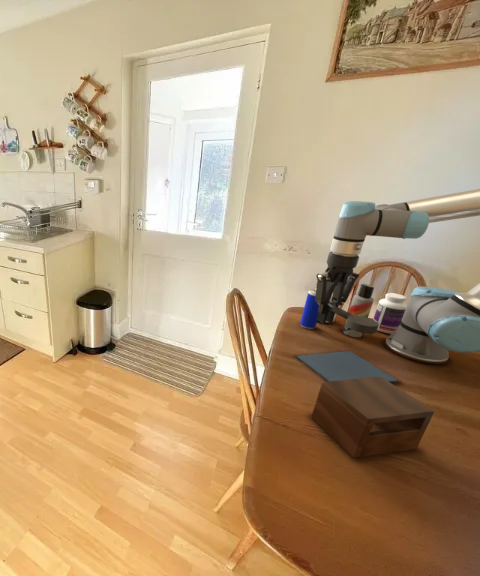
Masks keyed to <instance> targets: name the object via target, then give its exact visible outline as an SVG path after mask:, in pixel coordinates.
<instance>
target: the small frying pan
mask: <svg viewBox="0 0 480 576" xmlns="http://www.w3.org/2000/svg"><path fill="white" fill-rule="evenodd" d="M317 304H318V305H320V303H318V302H317ZM328 305H330V308H329V310H330V311H332V312H334V313H336V315H337V316H340V317H342V318H343V319H347V323H346V322H345V323H346V326H347V327H348V328H350V329H352V330H354V331H357V332H361V333H362V334H367V335H372V334H376V333H377V332H378V331H377V328H378V326H379V324H378V322H376V321H374V320H373V318H369V317H368V318H367V317H362V316H354V315H353V314H351V313H349V311H346V310H344V309H342V308H341V307H340V308H338V307H336V306H334V305H332V304H330V303H329V304H328Z"/></svg>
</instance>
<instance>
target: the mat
mask: <svg viewBox="0 0 480 576" xmlns="http://www.w3.org/2000/svg"><path fill="white" fill-rule="evenodd" d="M296 358H297V359H298V360H300V361H301V362H302V363H304V364H305V366H307V367H309V368H310V369H311V370H312V371H314V372H315V373H316V374H318V375H319V376H321V377H322V378H323V379H324V380H325V381H326V382H330V381H340V380H349V379H359V378H368V377H378V376H380V377H382V378H383V379H385V380H387V381H388V382H390V383H391V384H393V383H398V382H399V380H398V379H397V378H395V377H394V376H392V375H390V374H388V373H387V372H386V371H383V370H382V369H381V368H379V367H378V366H375V365H374V364H372V363H370V361H367V360H366V359H364V358H362V357H361V356H359V355H357V354H356V353H355V352H353V351H351V350H344V351H336V352H335V351H334V352H333V351H332V352H324V353H312V354H302V355H296Z"/></svg>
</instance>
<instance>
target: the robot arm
mask: <svg viewBox="0 0 480 576" xmlns="http://www.w3.org/2000/svg"><path fill="white" fill-rule="evenodd" d="M473 217H474V218H475V217H480V188H476V189H470V190H464V191H460V192H454V193H453V192H452V193H448V194H442V195H437V196H432V197H425V198H420V199H415V200H410V201H409V200H408V201H403V202H398V203H393V204H386V203H385V204H384V203H383V204H376V203H375V202H372V201H360V200H349V201H346V202H345V203H343V204H342V207H341V210H340V212H339V215H338V218H337V223H336V227H335V230H334V233H333V234H334V235H333V238H332V240H331V245H330V247H329V251H330V252H329V253H328V255H327V259H326V264H327V267H326V268H325V269H324V272H322V273H317V274H316V281H317V282H316V288H315V289H316V295H315V301H316V302H318V303H320V305H319V309H318V312H319V313H318V316H317V322H319V323H320V322H321V324H326V323H325V322H326V321H327V322H329V323H328V324H333V323H334V321H333V319H334V315H335V313H334V312H332V311H330V310H329V308H330V305H328V304H329V303H330V304H332V305H334V306H336V307H338V306H339V305H340V307H342V306H344V305H343V304H344V303H346V302H347V301H348V298H349V296H350V294H351V291H352V289H353V287H354V285H355V283H356V281H357V280H358V278H359V277H360V274H359V273H356V272H354V269H355V268H357V266H358V263H359V259H360V256H359V255H360V254H361V252H362V248H363V245H364V243H365V240H366V237H367V236H369V237H384V238H395V239H403V240H405V239H415V240H416V239H420V238H421V237H423V235H424V234H425V233H426V232H427V230H428V227H429V224H431V223H432V224H433V223H439V222H445V221H451V220H459V219H466V218H467V219H468V218H473ZM332 293H333V295H332ZM331 296H332V300H331V301H332V302H329V301H330V299H331ZM342 297H343V298H342ZM324 300H325V301H324ZM334 320H335V319H334ZM384 345H385V347H386V348H387V349H388V350H390V351H391V352H392V353H394V354H396V355H398V356H400V357H402V358H406V359H408V360H411V361H414V362H418V363H422V364H427V365H444V364H446V363H447V362H448V360H449V357H450V352H454V353H476V352H480V282H479V283H477V284H476V285H475V286H474V287H473V288H471V289H470V290H468V291H467V292H461V291H459V290H458V291H457V290H453V289H448V288H442V287H434V286H416V287H415V288H414V289H413V291H412V292H411V294H410V297H409V299H408V302H407V307H406V310H405V313H404V315H403V318H402V321H401V323H400V326H399V327H398V328H397V329H396V330H395V331H394V332H393V333H392V334H389V335H388V337H387V338H386V340H385V342H384ZM449 351H450V352H449Z"/></svg>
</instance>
